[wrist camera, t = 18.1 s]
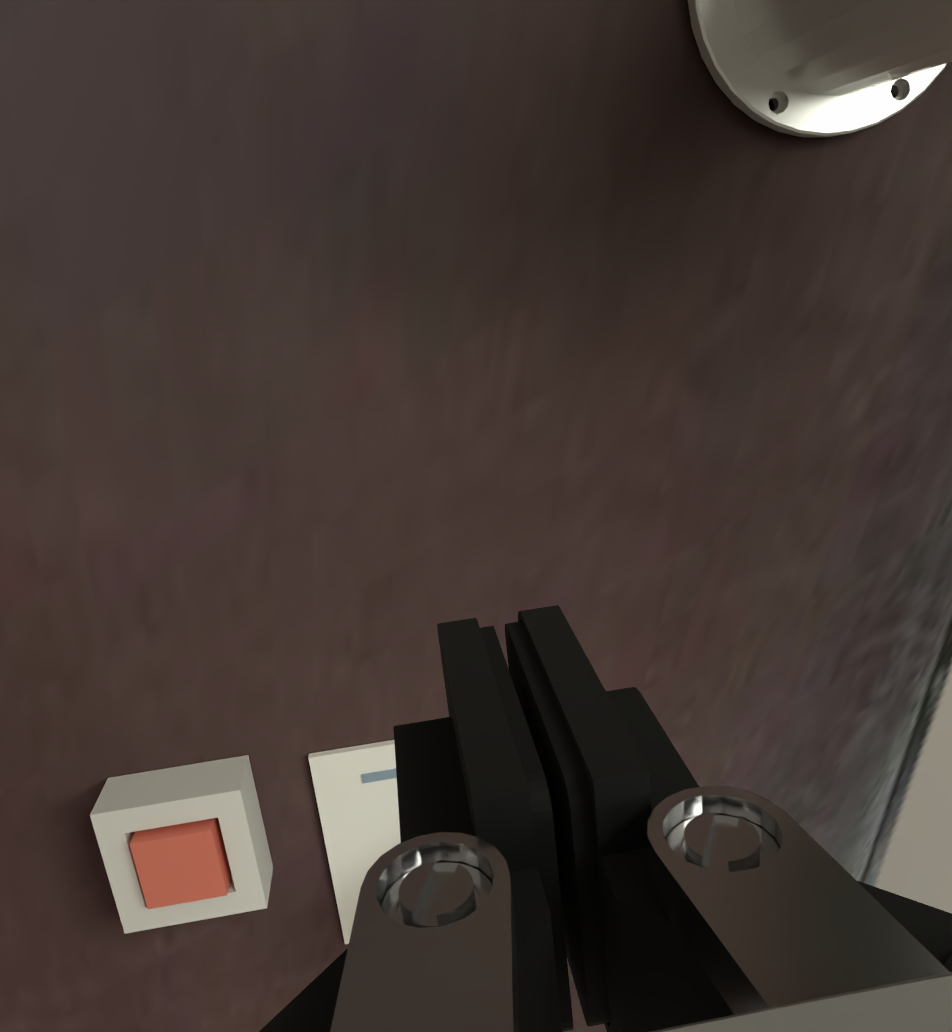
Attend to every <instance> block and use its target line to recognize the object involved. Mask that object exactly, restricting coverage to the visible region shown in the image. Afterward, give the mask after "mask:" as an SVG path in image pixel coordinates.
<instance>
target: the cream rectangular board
mask: <svg viewBox="0 0 952 1032" xmlns="http://www.w3.org/2000/svg"><path fill="white" fill-rule="evenodd" d="M308 759H309V764H310V769H311V774H312V779H313V784H314V789H315V795H316V800H317V805H318V810H319V815H320V820H321V825H322V830H323V835H324V840H325V845H326V850H327V856H328V861H329V866H330V871H331V876H332V881H333V886H334V891H335V896H336V901H337V906H338V911H339V917H340V922H341V927H342V932H343V937H344V942H345V944H349V940H350V936H351V931H352V926H353V921H354V917H355V912H356V907H357V902H358V898H359V893H360V888H361V885H362V883H363V881H364V878H365V876H366V874H367V871H368V870H369V869H370V868H371V866H372V865H373V864H374V863H375V862H376V861H377V860H378V858H379V857H380V856H381V855H383V854H384V853H386V852H387V851H389V850H390V849H392V848H393V847H395V846H396V845H398V844H400V843H401V840H400V824H399V808H398V791H397V775H396V759H395V743H394V740H389V741H383V742H377V743H371V744H365V745H359V746H353V747H347V748H341V749H335V750H328V751H322V752H316V753H310V754H309V757H308Z"/></svg>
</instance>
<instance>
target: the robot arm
mask: <svg viewBox="0 0 952 1032" xmlns="http://www.w3.org/2000/svg"><path fill="white" fill-rule="evenodd" d="M688 7H689V13H690V20H691V26H692V30H693V33H694V36H695V39H696V42H697V45H698V48H699V51H700V54H701V57H702V59H703V61H704V63H705V65H706V66H707V68H708V70H709V72H710V74H711V75H712V77H713V79H714V81H715V83H716V84H717V85H718V86H719V88H720V89H721V90H722V91H723V92H724V94H725V95H726V96H727V97H728V98H729V99H730V101H731V102H732V103H733V104H734V105H735V106H736V107H738V108H739V109H740V110H742V111H743V112H744V113H745V114H747V115H748V116H749V117H750V118H752V119H753V120H754V121H756V122H758V123H760V124H763V125H765V126H767V127H769V128H771V129H773V130H775V131H777V132H781V133H785V134H790V135H794V136H799V137H833V136H838V135H843V134H848V133H853V132H856V131H859V130H862V129H865V128H868V127H871V126H874V125H877V124H879V123H880V122H882V121H884V120H886V119H888V118H889V117H891V116H893V115H895V114H897V113H898V112H900V111H902V110H903V109H904V108H905V107H907V106H908V105H909V104H910V103H911V102H913V101H914V100H915V99H916V98H917V97H919V96H920V95H921V94H922V93H924V92H925V90H926V89H927V88H928V87H929V86H930V85H931V83H932V82H933V81H934V80H935V79H936V78H937V76H938V75H939V74H940V73H941V72H942V71H943V70H944V68H945V66H946V65H947V63H949V62H952V0H688ZM891 89H892V91H893V95H891ZM769 100H772V101H773V103H774V108H773V110H772V111H771V110H770V108H769V104H768V103H769ZM437 628H438V636H439V644H440V651H441V658H442V666H443V673H444V681H445V688H446V695H447V703H448V710H449V717H447V718H441V719H435V720H429V721H422V722H416V723H410V724H404V725H398V726H394V743H395V759H396V775H397V791H398V808H399V824H400V840H401V843H400V844H398V845H396V846H395V847H393V848H392V849H390V850H389V851H387V852H386V853H384V854H383V855H381V856H380V857H379V858H378V860H377V861H376V862H375V863H374V864H373V865H372V866H371V868H370V869H369V870H368V871H367V874H366V876H365V878H364V881H363V883H362V885H361V888H360V893H359V898H358V902H357V907H356V912H355V917H354V921H353V926H352V931H351V936H350V940H349V945H348V949H347V950H346V951H344V952H343V953H342V954H341V955H340V956H339V957H338V958H337V959H336V960H335V961H334V962H333V963H332V964H331V965H330V966H328V967H327V968H326V969H325V970H324V971H323V972H322V973H321V974H320V975H319V976H318V977H317V978H316V979H315V980H314V981H313V982H311V983H310V984H309V985H308V986H307V987H306V988H305V989H304V990H303V991H302V992H301V993H300V994H299V995H298V996H297V997H295V998H294V999H293V1000H292V1001H291V1002H290V1003H289V1004H288V1005H287V1006H286V1007H285V1008H284V1009H283V1010H282V1011H281V1012H280V1013H278V1014H277V1015H276V1016H275V1017H274V1018H273V1019H272V1020H271V1021H270V1022H269V1023H268V1024H267V1025H266V1026H265V1027H264V1028H262V1029H261V1030H260V1031H259V1032H563V1031H568V1030H573V1018H572V1008H571V997H570V987H569V977H568V966H567V958H568V962H569V965H570V969H571V972H572V976H573V979H574V983H575V986H576V990H577V993H578V997H579V1000H580V1004H581V1007H582V1010H583V1014H584V1017H585V1020H586V1023H587V1025H588V1026H593V1025H599V1024H604V1023H605V1027H606V1030H607V1032H952V914H951V913H948V912H945V911H942V910H939V909H936V908H934V907H931V906H928V905H925V904H922V903H919V902H917V901H913V900H911V899H908V898H905V897H902V896H899V895H896V894H893V893H891V892H888V891H885V890H882V889H879V888H876V887H873V886H870V885H868V884H865V883H862V882H859V881H856V880H855V879H854V878H853V877H852V876H851V875H850V874H849V873H848V872H847V871H846V870H845V869H844V868H843V867H842V866H841V865H840V864H839V863H838V862H837V861H836V860H835V859H834V858H832V857H831V856H830V855H829V854H828V853H827V852H826V851H825V850H824V849H823V848H822V847H821V846H820V845H819V844H818V843H817V842H816V841H815V840H814V839H813V838H812V837H811V836H810V835H809V834H808V833H807V832H806V831H805V830H804V829H803V828H802V827H801V826H800V825H799V824H798V823H797V822H796V821H795V820H793V819H792V818H791V817H790V816H789V815H788V814H787V813H786V812H785V811H784V810H783V809H781V808H780V807H778V806H777V805H776V804H774V803H773V802H772V801H770V800H769V799H766V798H764V797H762V796H759V795H757V794H755V793H752V792H750V791H746V790H741V789H737V788H732V787H726V786H702V787H699V786H698V784H697V783H696V781H695V779H694V778H693V776H692V775H691V773H690V771H689V770H688V768H687V767H686V765H685V763H684V762H683V760H682V759H681V757H680V755H679V754H678V752H677V751H676V749H675V747H674V746H673V744H672V743H671V741H670V739H669V738H668V736H667V735H666V733H665V731H664V730H663V728H662V727H661V725H660V723H659V722H658V720H657V719H656V717H655V715H654V714H653V712H652V711H651V709H650V707H649V706H648V704H647V703H646V701H645V699H644V698H643V696H642V695H641V693H640V692H639V691H638V690H637V688H634V687H631V688H625V689H619V690H613V691H605V689H604V687H603V686H602V684H601V682H600V680H599V678H598V676H597V675H596V673H595V671H594V669H593V667H592V665H591V664H590V662H589V660H588V658H587V656H586V655H585V653H584V651H583V649H582V647H581V645H580V644H579V642H578V640H577V638H576V636H575V635H574V633H573V631H572V629H571V627H570V625H569V624H568V622H567V620H566V618H565V616H564V615H563V613H562V611H561V609H560V607H559V606H558V605H557V606H551V607H544V608H538V609H531V610H525V611H519V612H518V622H515V623H509V624H505V637H506V646H507V655H508V664H509V669H508V666H507V664H506V661H505V658H504V655H503V652H502V649H501V646H500V643H499V640H498V638H497V635H496V632H495V629H494V626H489V627H483V628H479V625H478V621H477V619H476V618H472V619H466V620H459V621H453V622H446V623H440V624H437ZM566 955H567V956H566Z"/></svg>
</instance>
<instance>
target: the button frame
mask: <svg viewBox="0 0 952 1032" xmlns="http://www.w3.org/2000/svg"><path fill="white" fill-rule="evenodd" d="M90 817H91V821H92V824H93V828H94V831H95V834H96V838H97V841H98V845H99V848H100V851H101V855H102V858H103V862H104V865H105V868H106V872H107V875H108V879H109V882H110V885H111V889H112V892H113V895H114V899H115V902H116V906H117V909H118V912H119V916H120V919H121V923H122V926H123V929H124V933H125V934H126V933H131V932H137V931H142V930H148V929H153V928H159V927H165V926H170V925H176V924H181V923H187V922H193V921H198V920H204V919H209V918H215V917H221V916H226V915H232V914H237V913H243V912H248V911H254V910H260V909H265V908H267V905H268V899H269V892H270V885H271V878H272V872H273V865H272V860H271V856H270V851H269V847H268V842H267V838H266V833H265V829H264V824H263V819H262V815H261V810H260V806H259V801H258V797H257V792H256V788H255V783H254V779H253V774H252V770H251V765H250V761H249V756H248V755H245V756H239V757H233V758H227V759H221V760H214V761H208V762H202V763H196V764H190V765H184V766H178V767H172V768H166V769H159V770H153V771H147V772H141V773H135V774H129V775H123V776H117V777H110V778H108V779H107V781H106V783H105V785H104V787H103V789H102V791H101V793H100V795H99V797H98V799H97V801H96V803H95V805H94V808H93V810H92V812H91V814H90ZM212 818H218V819H219V824H220V828H221V832H222V836H223V840H224V844H225V849H226V853H227V857H228V861H229V865H230V869H231V879H230V884H229V888H228V893H227V895H226V896H221V897H215V898H209V899H204V900H198V901H192V902H187V903H181V904H176V905H170V906H164V907H159V908H153V909H148V908H147V905H146V901H145V897H144V894H143V890H142V887H141V883H140V880H139V876H138V873H137V869H136V865H135V862H134V858H133V855H132V851H131V848H130V842H131V840H132V837H133V835H134V832H135V831H141V830H147V829H153V828H159V827H165V826H171V825H177V824H183V823H189V822H195V821H200V820H206V819H212Z"/></svg>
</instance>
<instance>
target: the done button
mask: <svg viewBox="0 0 952 1032" xmlns="http://www.w3.org/2000/svg"><path fill="white" fill-rule="evenodd" d="M130 848H131V851H132V855H133V858H134V862H135V865H136V869H137V873H138V876H139V880H140V883H141V887H142V890H143V894H144V897H145V901H146V905H147V908H148V909H153V908H159V907H164V906H170V905H176V904H181V903H187V902H192V901H198V900H204V899H209V898H215V897H221V896H226V895H227V893H228V888H229V884H230V879H231V869H230V865H229V861H228V857H227V853H226V849H225V844H224V840H223V836H222V832H221V828H220V824H219V819H218V818H212V819H206V820H200V821H195V822H189V823H183V824H177V825H171V826H165V827H159V828H153V829H147V830H141V831H135V832H134V835H133V837H132V840H131V842H130Z"/></svg>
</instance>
